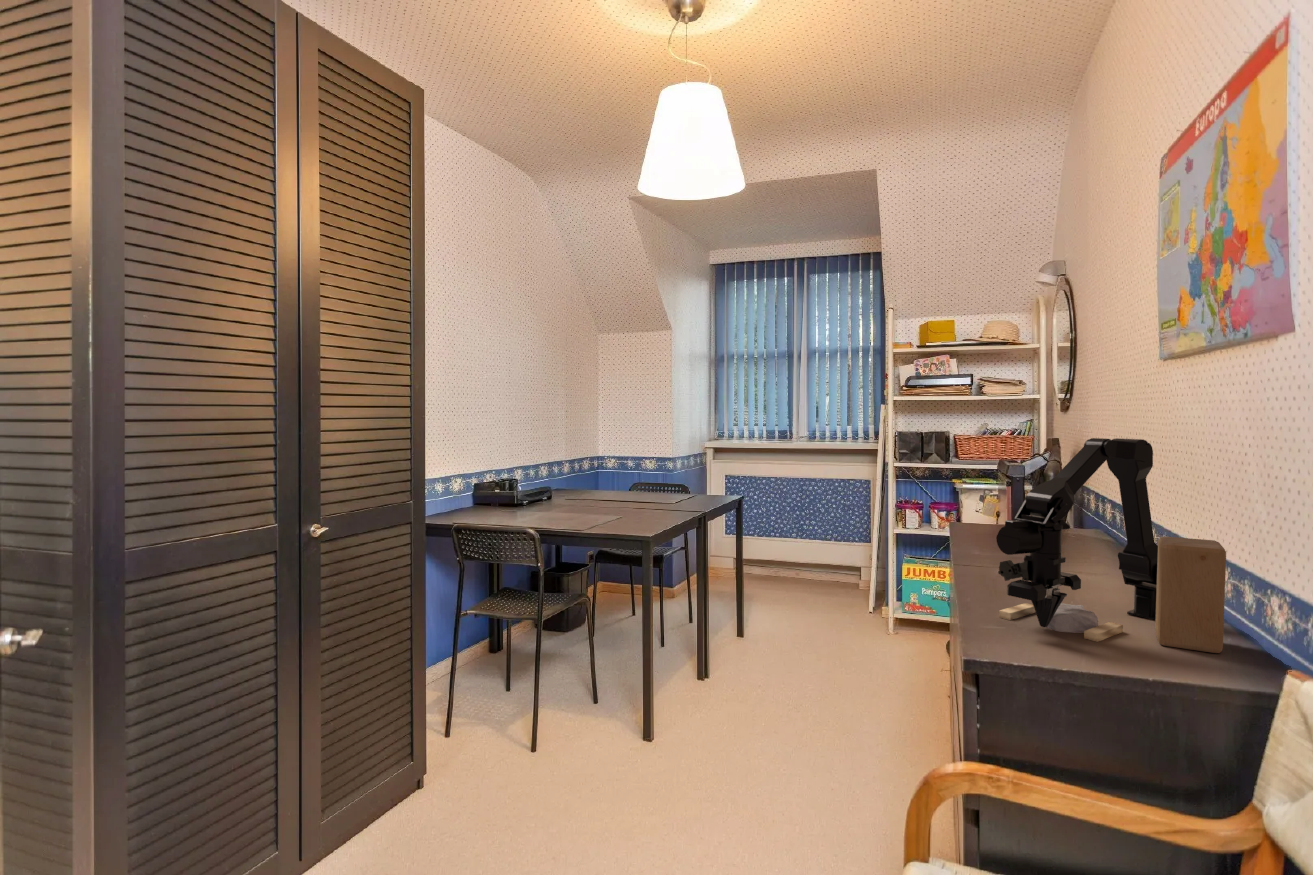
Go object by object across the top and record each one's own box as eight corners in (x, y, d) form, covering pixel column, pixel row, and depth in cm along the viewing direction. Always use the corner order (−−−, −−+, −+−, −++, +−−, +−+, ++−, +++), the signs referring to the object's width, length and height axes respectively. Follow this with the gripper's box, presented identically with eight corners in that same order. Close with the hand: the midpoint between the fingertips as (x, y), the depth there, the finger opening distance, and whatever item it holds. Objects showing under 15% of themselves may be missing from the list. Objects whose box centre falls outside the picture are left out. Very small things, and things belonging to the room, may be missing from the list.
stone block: (1051, 640, 148) (1104, 634, 146) (1046, 617, 148) (1099, 610, 146) (1033, 625, 160) (1082, 619, 158) (1028, 604, 160) (1077, 597, 158)
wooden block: (1223, 655, 134) (1227, 548, 133) (1157, 646, 139) (1161, 542, 138) (1216, 641, 142) (1220, 540, 142) (1154, 632, 148) (1158, 535, 147)
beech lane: (1025, 609, 164) (1025, 602, 164) (1122, 631, 148) (1122, 624, 148) (998, 617, 158) (999, 610, 158) (1097, 641, 142) (1097, 634, 142)
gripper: (1029, 540, 160) (1028, 610, 161) (982, 550, 150) (981, 624, 150) (1083, 548, 151) (1081, 622, 152) (1037, 559, 141) (1035, 638, 141)
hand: (1043, 626), depth 149 cm, fingers closed
